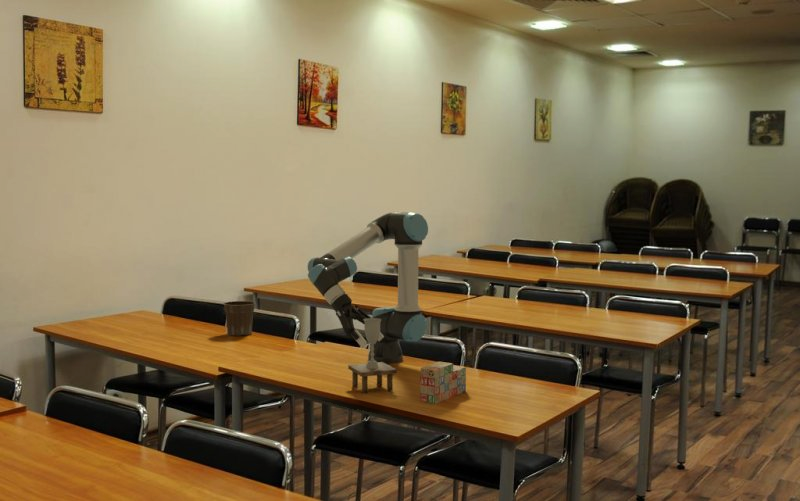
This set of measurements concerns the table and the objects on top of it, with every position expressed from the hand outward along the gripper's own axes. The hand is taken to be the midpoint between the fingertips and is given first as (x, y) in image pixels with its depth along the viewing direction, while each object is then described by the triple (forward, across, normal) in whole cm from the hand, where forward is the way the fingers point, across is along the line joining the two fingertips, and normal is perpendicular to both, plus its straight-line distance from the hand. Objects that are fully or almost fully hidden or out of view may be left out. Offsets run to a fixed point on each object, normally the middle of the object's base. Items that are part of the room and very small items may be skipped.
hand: (373, 342), depth 299 cm
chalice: (+7, 0, -7) cm, 10 cm away
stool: (+12, 0, -13) cm, 18 cm away
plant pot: (-66, -68, -92) cm, 132 cm away
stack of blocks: (+32, -2, +7) cm, 33 cm away
